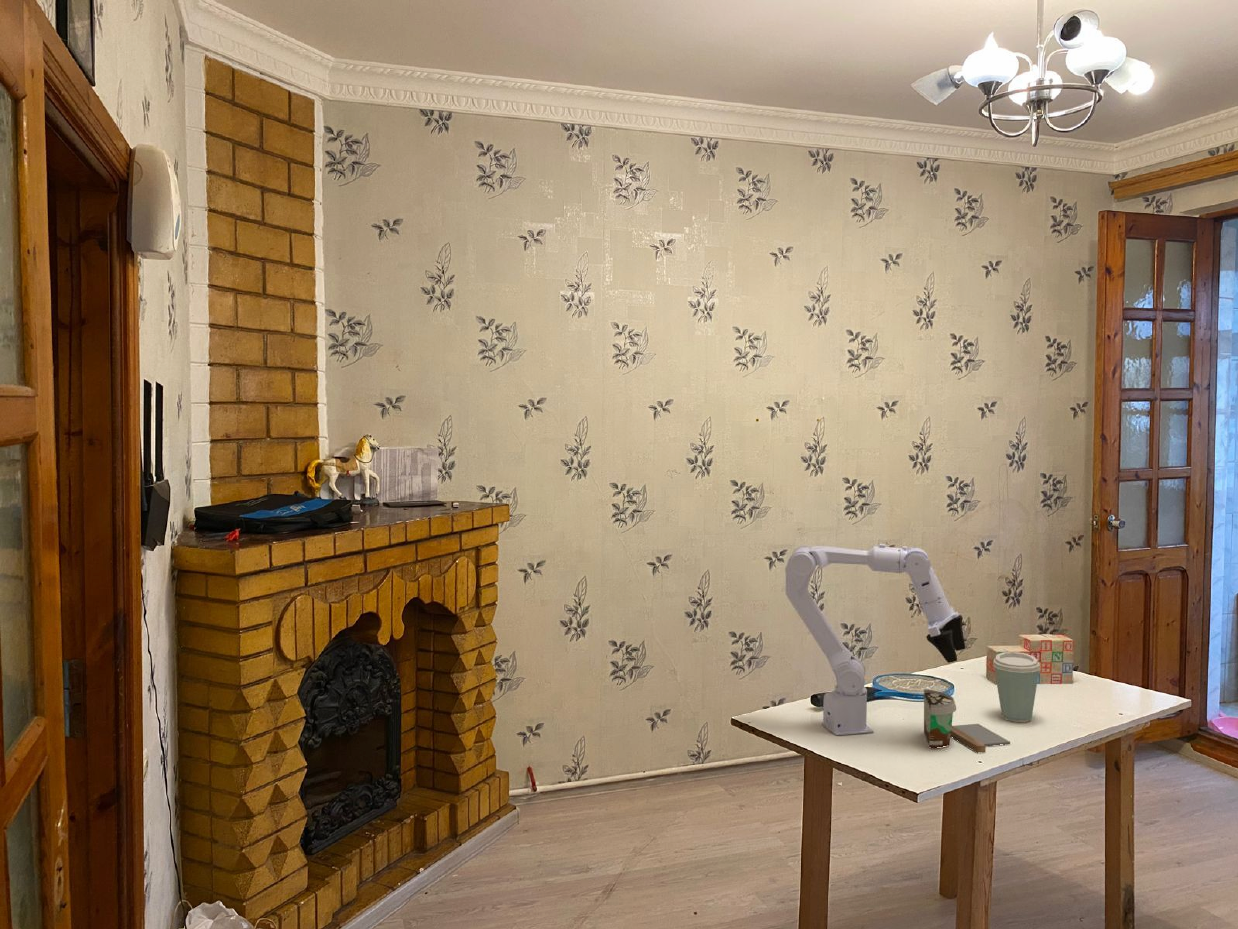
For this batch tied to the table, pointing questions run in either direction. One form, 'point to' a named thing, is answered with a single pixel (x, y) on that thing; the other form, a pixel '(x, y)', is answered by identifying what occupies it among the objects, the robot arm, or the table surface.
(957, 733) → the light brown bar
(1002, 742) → the rubber mat
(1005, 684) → the disposable coffee cup
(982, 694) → the table surface
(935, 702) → the food container
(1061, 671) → the stack of blocks
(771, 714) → the table surface
